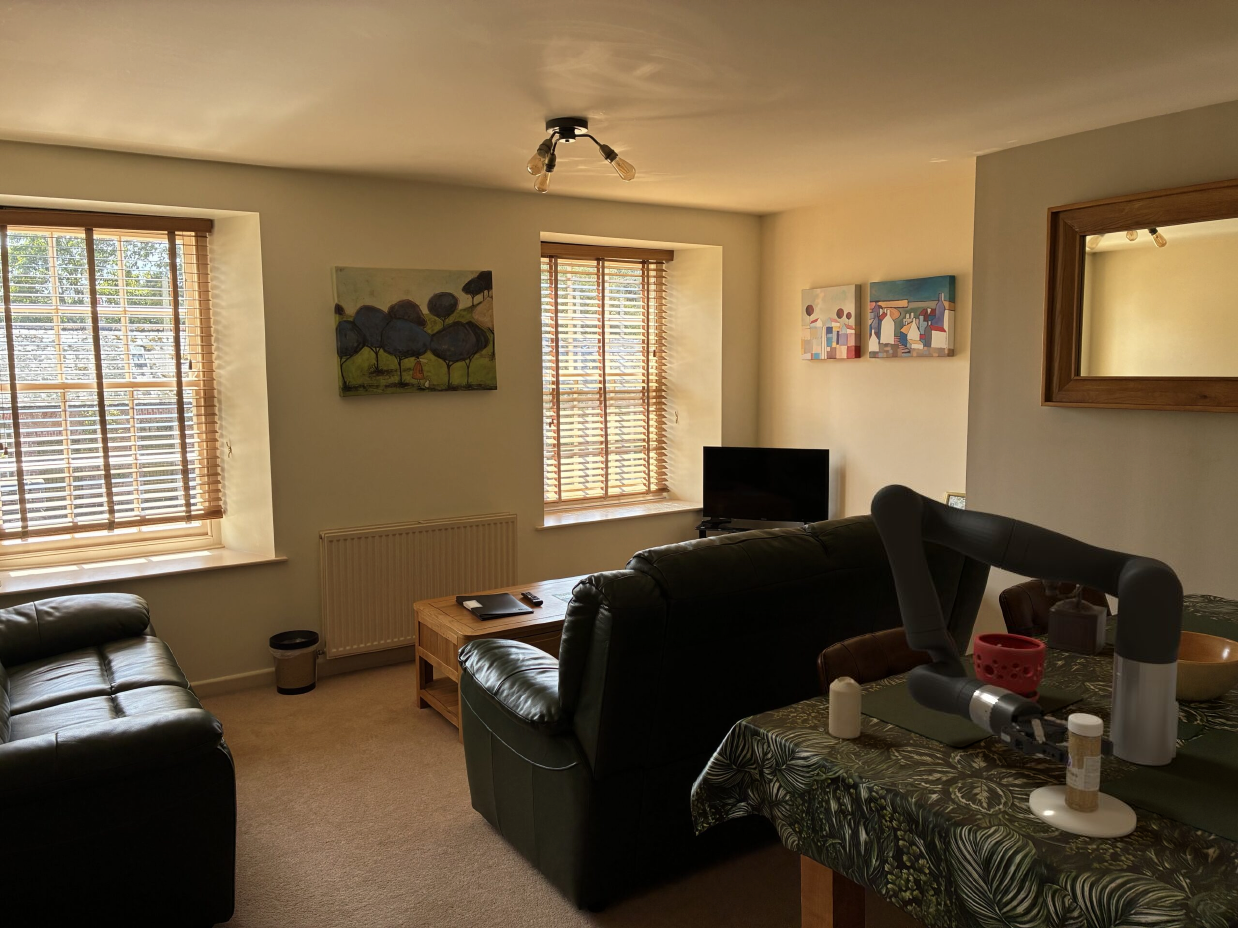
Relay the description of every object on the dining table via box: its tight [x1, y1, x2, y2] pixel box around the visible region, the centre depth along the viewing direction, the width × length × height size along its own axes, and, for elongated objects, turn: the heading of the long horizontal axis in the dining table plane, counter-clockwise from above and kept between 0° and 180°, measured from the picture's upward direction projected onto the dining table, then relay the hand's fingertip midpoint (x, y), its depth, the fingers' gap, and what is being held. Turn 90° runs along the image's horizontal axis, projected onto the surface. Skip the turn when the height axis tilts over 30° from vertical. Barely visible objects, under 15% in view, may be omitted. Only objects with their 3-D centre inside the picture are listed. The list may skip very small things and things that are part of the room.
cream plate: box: [1028, 784, 1137, 839], centre depth 134 cm, size 14×14×1 cm
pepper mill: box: [1041, 580, 1108, 657], centre depth 212 cm, size 16×11×18 cm
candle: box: [828, 676, 862, 740], centre depth 164 cm, size 6×6×10 cm
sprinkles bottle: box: [1065, 712, 1104, 812], centre depth 134 cm, size 5×5×14 cm
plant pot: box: [972, 632, 1047, 703], centre depth 181 cm, size 13×13×12 cm
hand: (1089, 753), depth 133 cm, fingers open, 8 cm apart
